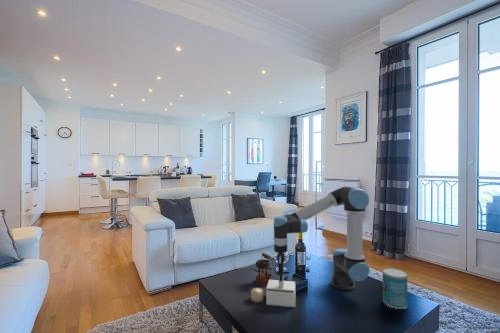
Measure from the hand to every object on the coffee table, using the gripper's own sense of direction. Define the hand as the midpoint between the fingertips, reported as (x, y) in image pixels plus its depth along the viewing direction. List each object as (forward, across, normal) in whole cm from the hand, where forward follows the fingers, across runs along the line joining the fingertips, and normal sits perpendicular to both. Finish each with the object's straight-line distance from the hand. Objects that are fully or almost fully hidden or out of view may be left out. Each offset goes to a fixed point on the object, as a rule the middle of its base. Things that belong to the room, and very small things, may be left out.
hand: (281, 285), depth 145 cm
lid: (+1, -3, 0) cm, 3 cm away
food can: (+11, -10, +63) cm, 64 cm away
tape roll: (+10, -2, -14) cm, 17 cm away
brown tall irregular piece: (+10, -24, -14) cm, 30 cm away
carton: (+10, -3, 0) cm, 11 cm away
